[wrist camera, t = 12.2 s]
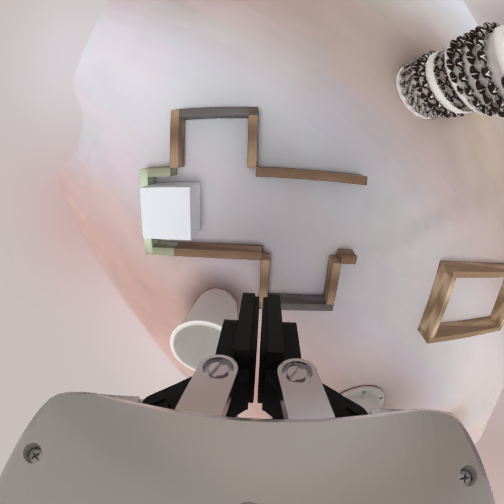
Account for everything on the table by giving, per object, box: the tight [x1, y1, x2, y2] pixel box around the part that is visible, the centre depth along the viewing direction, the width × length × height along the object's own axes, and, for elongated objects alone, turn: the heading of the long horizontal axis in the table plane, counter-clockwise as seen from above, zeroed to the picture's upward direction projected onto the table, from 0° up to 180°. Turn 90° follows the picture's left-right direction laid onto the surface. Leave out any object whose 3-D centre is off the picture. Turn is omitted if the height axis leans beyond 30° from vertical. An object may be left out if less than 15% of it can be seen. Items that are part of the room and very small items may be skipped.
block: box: [140, 182, 201, 240], centre depth 31 cm, size 6×6×5 cm
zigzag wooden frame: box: [140, 107, 367, 311], centre depth 32 cm, size 25×27×2 cm
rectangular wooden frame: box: [418, 261, 504, 343], centre depth 34 cm, size 13×22×4 cm, turn 88°
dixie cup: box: [170, 289, 237, 371], centre depth 34 cm, size 8×8×10 cm
